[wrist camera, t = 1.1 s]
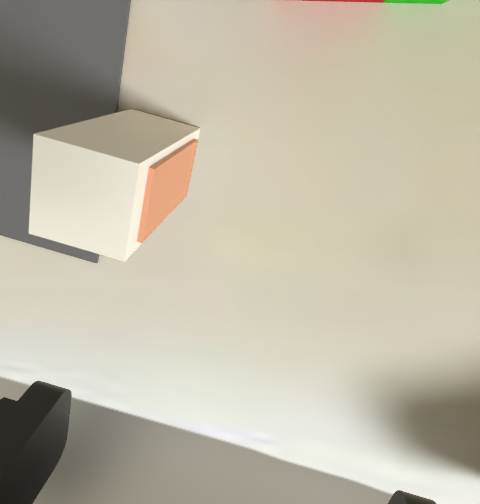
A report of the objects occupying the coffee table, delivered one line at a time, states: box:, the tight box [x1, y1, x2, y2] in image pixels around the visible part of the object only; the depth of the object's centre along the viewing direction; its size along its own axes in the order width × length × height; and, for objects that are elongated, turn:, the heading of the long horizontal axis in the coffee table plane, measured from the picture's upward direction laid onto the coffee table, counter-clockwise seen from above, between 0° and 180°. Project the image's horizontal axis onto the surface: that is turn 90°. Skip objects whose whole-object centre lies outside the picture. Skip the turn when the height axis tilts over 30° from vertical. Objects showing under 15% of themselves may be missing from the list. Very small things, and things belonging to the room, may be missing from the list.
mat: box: [0, 0, 131, 263], centre depth 32 cm, size 20×12×1 cm, turn 166°
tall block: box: [29, 109, 200, 261], centre depth 27 cm, size 5×5×12 cm
